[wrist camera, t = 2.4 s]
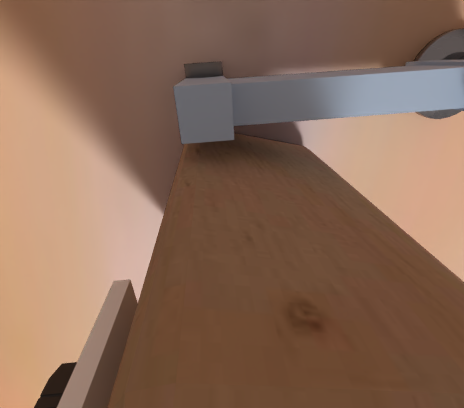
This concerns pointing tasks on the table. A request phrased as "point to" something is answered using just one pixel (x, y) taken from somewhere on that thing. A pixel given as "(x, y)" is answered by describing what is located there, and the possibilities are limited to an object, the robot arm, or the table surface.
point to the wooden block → (287, 294)
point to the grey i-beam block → (310, 96)
